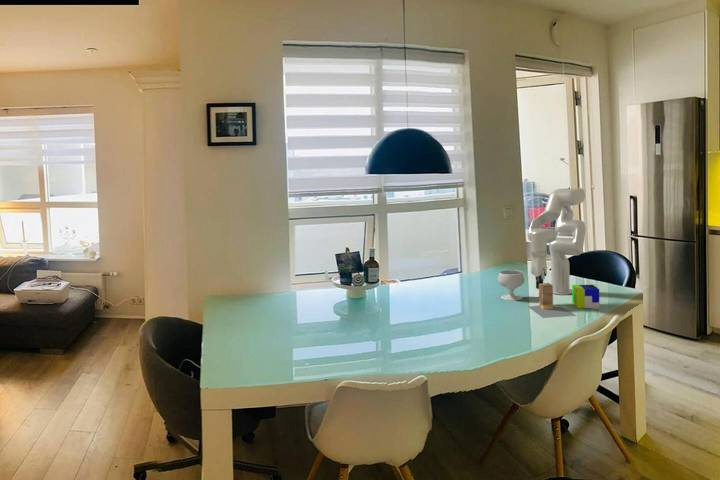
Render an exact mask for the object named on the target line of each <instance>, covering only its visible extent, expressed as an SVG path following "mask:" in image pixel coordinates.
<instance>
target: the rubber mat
mask: <svg viewBox="0 0 720 480" xmlns="http://www.w3.org/2000/svg"><path fill="white" fill-rule="evenodd" d="M527 308H529V309H530V310H532V312H534V313H536V314H537V315H539V316H540V317H541V318H542V319H545V318H547V319H549V318H561V317H562V318H564V317H565V318H566V317H576V316H577V315H576V314H575V313H574V312H571V311H570V310H568V309H567V308H565V307H563V306H562V305H561V304H553V309H542V308H541V307H539V305H528V306H527Z"/></svg>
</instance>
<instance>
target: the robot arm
mask: <svg viewBox="0 0 720 480" xmlns="http://www.w3.org/2000/svg"><path fill="white" fill-rule="evenodd" d="M585 199H586V191H585V190H584V189H583V187H582V188H581V187H574V188H573V187H572V188H571V187H569V188H558V189H555V190H554V191H552V192H550V193H549V196H548V198H547V201H546V203H545V208H544V210H543V212H542V213H540V214H538V215H537V216H536V217H535V218H534V219H533V220H532V221H531V222H530V225H529V228H528V232H527V239H528V240H529V242H530V245H531V246H530V247H531V249H530V250H531V251H530V253H531V261H530V262H531V263H530V265H531V266H530V273H531V275H533V276H534V277H535V289H536V290H539V284H542V283H544V280H545V279H546V277H547V273H548V269H547V267H548V266H547V257H548V248H549V253H550V254H549V255H550V275H551V277H550V280H551V281H550V282H551V283H550V284H551V285H553V295H559V296H560V295H561V296H562V295H563V296H564V295H567V296H568V295H572V288H570V283H571V282H570V261H569V259H568V257H567V256H580V255H581V254H582V253H583V249H584V246H585V245H584V243H585V238H586V237H585V236H586V228H587V227H586V223H585V222H584V221H583V220H582V219H574V218H573V217H574V211H573V209H572V208H571V206H577V205H580V204H582V203H583V202H584V201H585ZM553 221H555V224H554V229H553V228H540V227H542V226H544V225H546V224H548V223H551V222H553ZM558 236H559V237H558ZM571 237H572V238H571ZM547 244H548V245H547ZM547 246H548V247H547Z"/></svg>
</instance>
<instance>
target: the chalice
mask: <svg viewBox="0 0 720 480" xmlns="http://www.w3.org/2000/svg"><path fill="white" fill-rule="evenodd" d="M497 281H498V284H499V285H500V286H501V287H503V288H506V289H507V290H508V291H509V294H505V295H501V296H500V298H499V299H501V300H506V301H519V300H523V296H521V295H517V294H514V291H515V289H517V288H519V287H521V286H522V285H524V283H525V276H524V274H523V272H522V271H520V270H515V269H512V270H511V269H509V270H508V269H507V270H502V271H500V272H499V274H498V277H497Z"/></svg>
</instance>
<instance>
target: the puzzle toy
mask: <svg viewBox="0 0 720 480" xmlns="http://www.w3.org/2000/svg"><path fill="white" fill-rule="evenodd" d="M571 290H572V293H571V295H572V296H571V297H572V298H571V302H572V303H573V305H574V306H575V307H576V308H577V309H592V310H594V309H595V310H599V309H600V289H599V288H598V287H597V286H595V285H594V284H572V285H571Z"/></svg>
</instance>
